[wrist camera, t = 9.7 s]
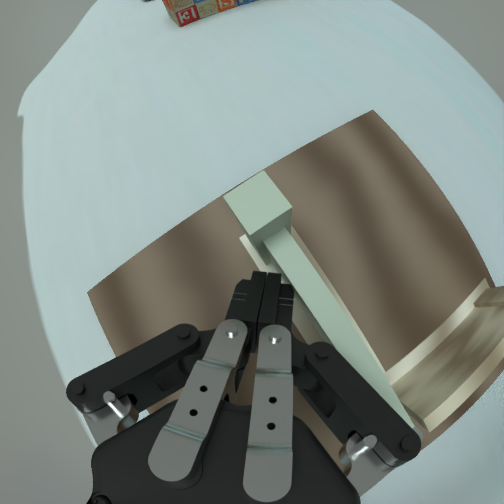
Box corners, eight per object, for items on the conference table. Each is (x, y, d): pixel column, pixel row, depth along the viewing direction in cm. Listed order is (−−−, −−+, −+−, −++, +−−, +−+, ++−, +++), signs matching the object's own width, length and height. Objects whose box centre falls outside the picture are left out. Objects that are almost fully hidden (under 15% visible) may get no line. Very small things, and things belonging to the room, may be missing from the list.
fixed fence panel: (485, 288, 16) (554, 277, 8) (492, 307, 16) (561, 302, 8) (383, 384, 17) (437, 428, 8) (393, 403, 16) (447, 450, 8)
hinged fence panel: (392, 403, 16) (445, 453, 8) (370, 419, 16) (412, 478, 8) (273, 225, 19) (263, 169, 11) (249, 241, 19) (222, 196, 11)
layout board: (370, 115, 21) (373, 108, 20) (511, 349, 16) (518, 350, 15) (93, 292, 22) (86, 292, 21) (253, 524, 16) (251, 530, 15)
